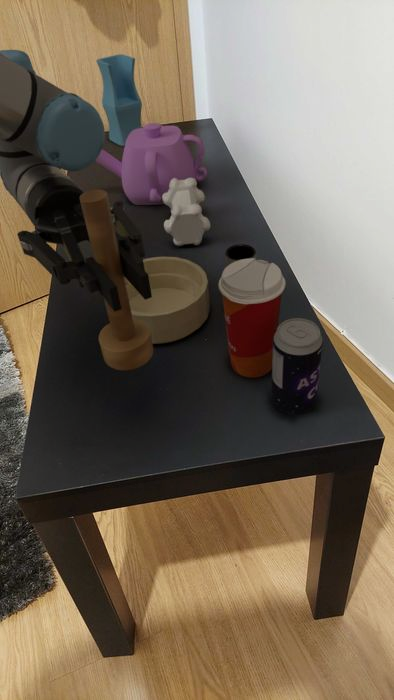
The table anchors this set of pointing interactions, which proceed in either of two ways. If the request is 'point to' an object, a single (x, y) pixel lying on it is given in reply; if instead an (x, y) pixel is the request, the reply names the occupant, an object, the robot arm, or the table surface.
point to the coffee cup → (251, 313)
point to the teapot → (154, 162)
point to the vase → (120, 96)
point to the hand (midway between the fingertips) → (131, 293)
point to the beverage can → (296, 365)
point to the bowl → (171, 298)
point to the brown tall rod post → (123, 330)
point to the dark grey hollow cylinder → (239, 253)
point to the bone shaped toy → (185, 212)
